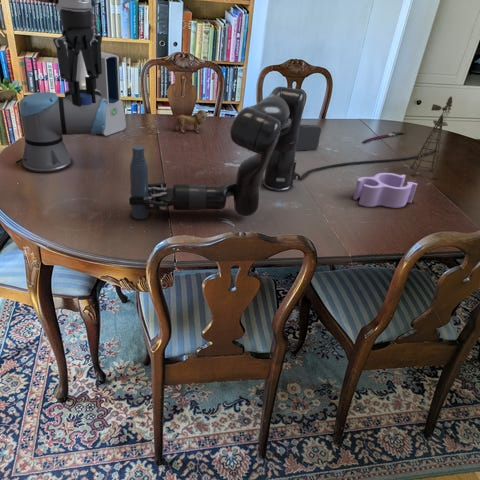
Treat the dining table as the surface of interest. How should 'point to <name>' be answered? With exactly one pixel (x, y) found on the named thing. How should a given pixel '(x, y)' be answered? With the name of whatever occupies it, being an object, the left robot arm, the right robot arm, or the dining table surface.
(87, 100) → the cap
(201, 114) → the lion figurine
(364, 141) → the sword
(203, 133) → the dining table surface
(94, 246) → the dining table surface
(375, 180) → the clip
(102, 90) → the electronic device
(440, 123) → the miniature windmill
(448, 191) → the dining table surface
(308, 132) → the handheld gaming console
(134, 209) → the bottle
